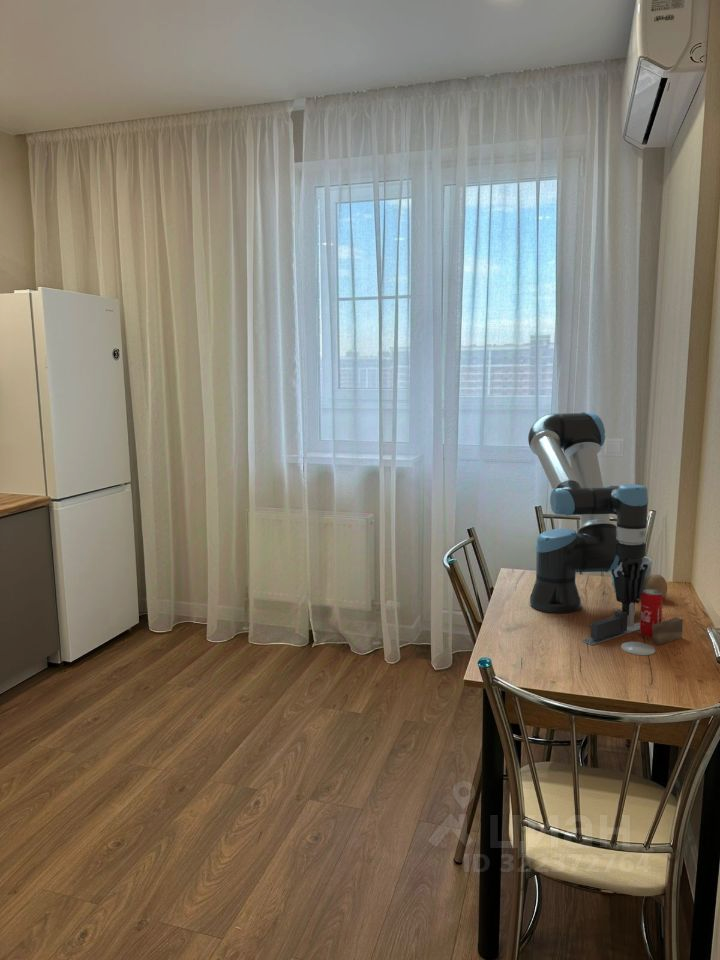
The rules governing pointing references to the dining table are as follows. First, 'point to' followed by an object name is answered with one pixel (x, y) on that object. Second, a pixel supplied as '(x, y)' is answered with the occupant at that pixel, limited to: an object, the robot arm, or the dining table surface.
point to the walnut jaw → (667, 631)
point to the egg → (657, 584)
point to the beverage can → (650, 611)
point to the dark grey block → (609, 625)
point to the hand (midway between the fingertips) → (627, 625)
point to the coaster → (638, 648)
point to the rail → (629, 630)
